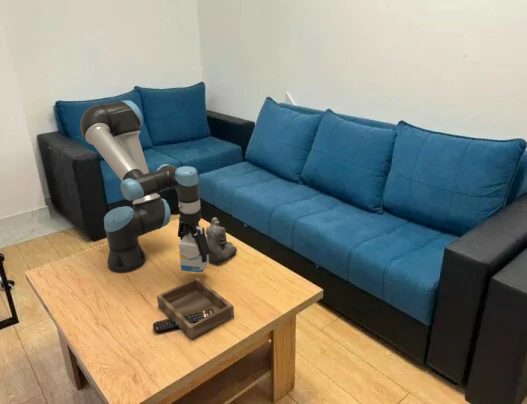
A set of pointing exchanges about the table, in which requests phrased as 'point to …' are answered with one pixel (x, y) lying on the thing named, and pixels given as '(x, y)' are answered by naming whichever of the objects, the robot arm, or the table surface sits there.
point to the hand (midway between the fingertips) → (195, 261)
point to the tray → (195, 307)
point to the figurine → (218, 243)
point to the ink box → (189, 254)
